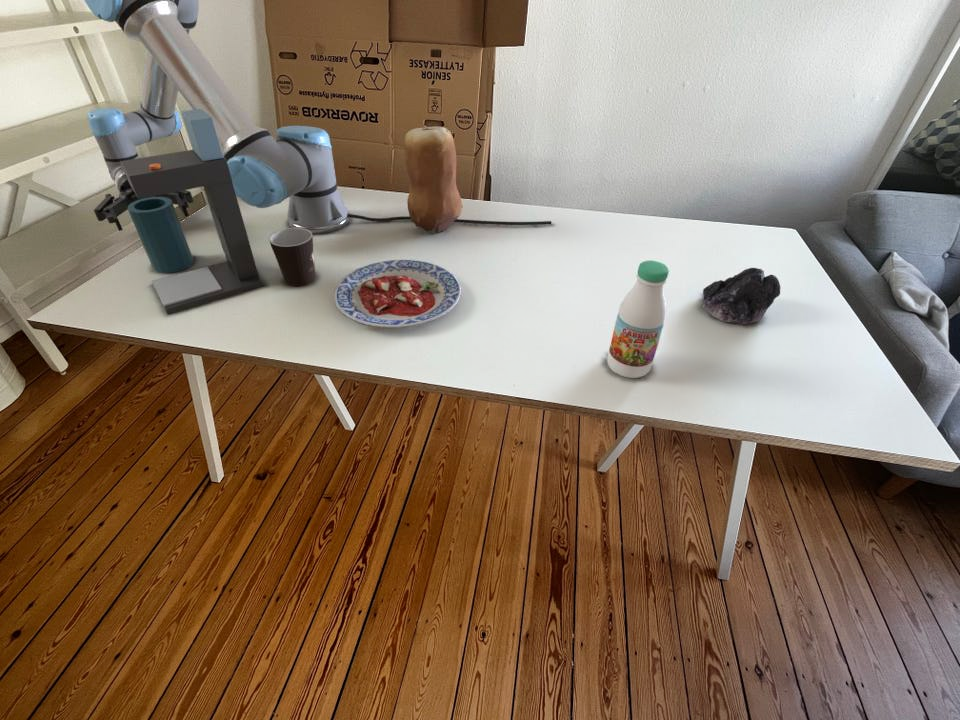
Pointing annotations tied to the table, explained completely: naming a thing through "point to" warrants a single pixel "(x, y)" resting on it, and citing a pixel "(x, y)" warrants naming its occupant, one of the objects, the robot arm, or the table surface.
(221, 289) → the coffee maker
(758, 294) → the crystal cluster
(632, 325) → the milk bottle
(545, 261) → the table surface
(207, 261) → the table surface
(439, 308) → the ceramic plate
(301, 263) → the coffee mug
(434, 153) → the butternut squash
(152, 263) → the teal tumbler
